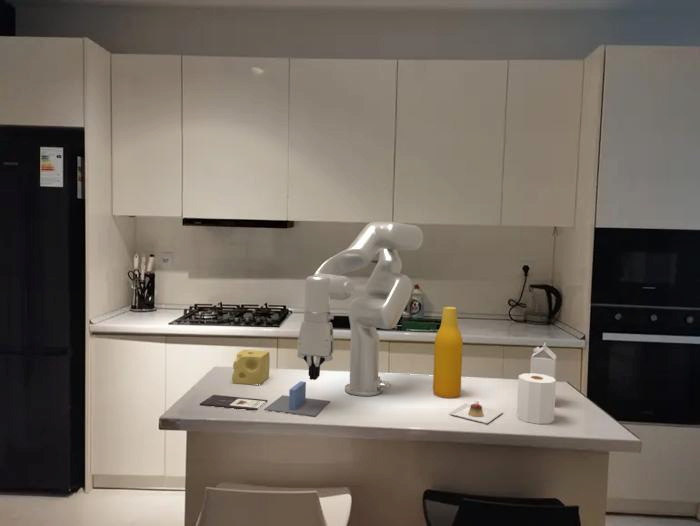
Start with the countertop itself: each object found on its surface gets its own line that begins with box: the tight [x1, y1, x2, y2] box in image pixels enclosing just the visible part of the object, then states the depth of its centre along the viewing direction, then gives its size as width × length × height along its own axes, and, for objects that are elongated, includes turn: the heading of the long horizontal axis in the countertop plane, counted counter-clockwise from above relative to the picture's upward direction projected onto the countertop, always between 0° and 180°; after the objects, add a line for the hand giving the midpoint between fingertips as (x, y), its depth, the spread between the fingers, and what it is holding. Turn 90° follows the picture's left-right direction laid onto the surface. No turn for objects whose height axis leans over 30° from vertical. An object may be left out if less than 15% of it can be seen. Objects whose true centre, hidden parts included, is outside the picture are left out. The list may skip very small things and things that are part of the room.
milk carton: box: [529, 341, 557, 380], centre depth 171 cm, size 7×7×19 cm
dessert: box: [448, 400, 504, 425], centre depth 158 cm, size 12×12×5 cm
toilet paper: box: [516, 372, 557, 425], centre depth 156 cm, size 10×10×12 cm
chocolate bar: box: [199, 394, 268, 411], centre depth 162 cm, size 9×1×18 cm
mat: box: [263, 394, 331, 418], centre depth 161 cm, size 16×14×1 cm
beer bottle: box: [432, 306, 464, 399], centre depth 176 cm, size 9×9×29 cm
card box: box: [288, 380, 307, 410], centre depth 161 cm, size 9×2×6 cm, turn 164°
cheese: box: [231, 349, 271, 386], centre depth 187 cm, size 10×11×10 cm
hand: (313, 378), depth 159 cm, fingers closed
